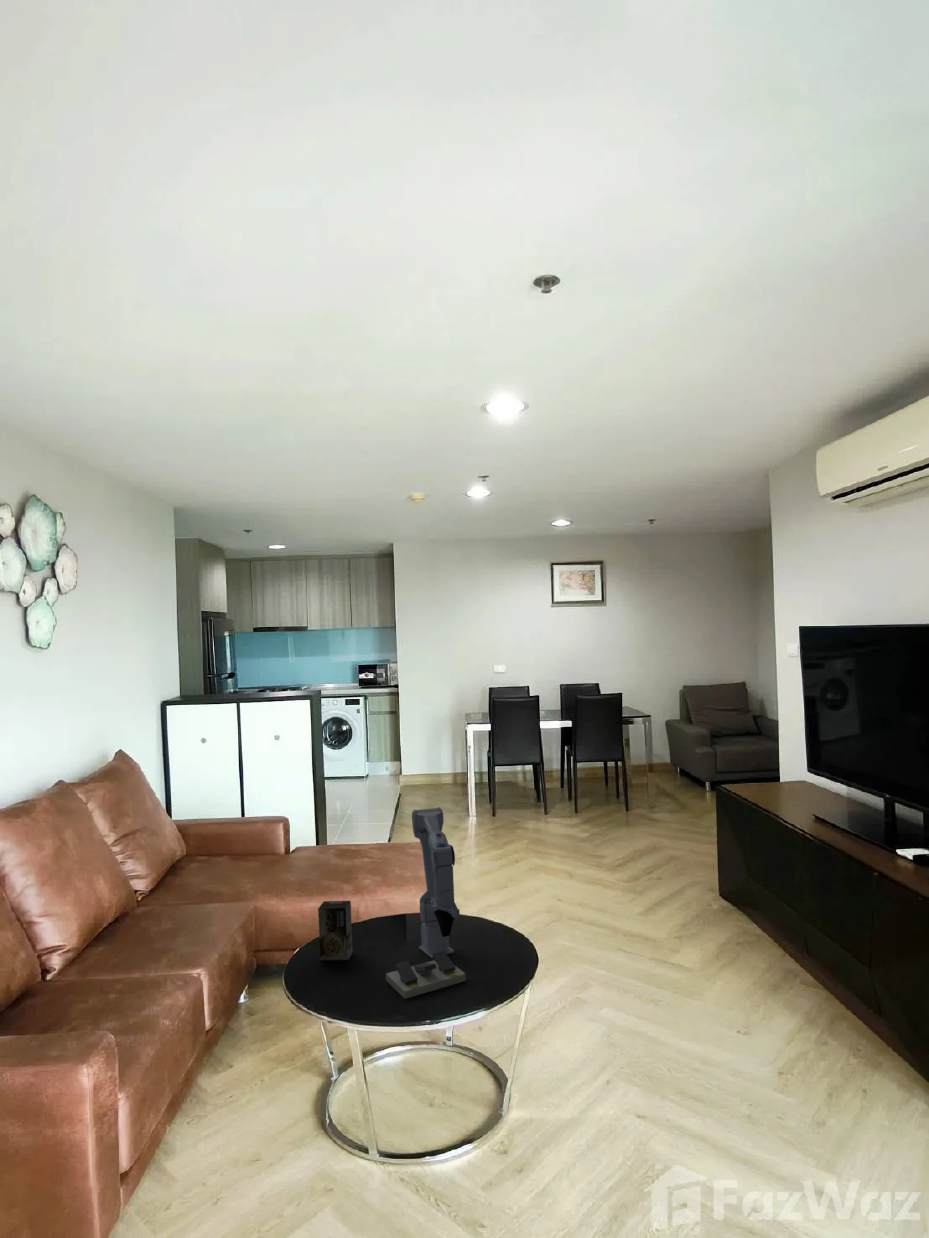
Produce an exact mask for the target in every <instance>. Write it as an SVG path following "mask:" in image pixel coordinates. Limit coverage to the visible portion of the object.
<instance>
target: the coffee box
mask: <svg viewBox="0 0 929 1238" xmlns="http://www.w3.org/2000/svg"><path fill="white" fill-rule="evenodd" d="M351 903H352V902H351V900H327V901H323V902H322V903H321V904H320V906H319V907H318V908H317V911H318V912H317V916H318V935H319V938H318V939H319V961H348V960H349V959H350V957H352V955H353V953H354V952H353V951H354V950H353V930H352V928H353V927H352V904H351Z"/></svg>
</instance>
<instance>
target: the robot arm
mask: <svg viewBox="0 0 929 1238" xmlns="http://www.w3.org/2000/svg"><path fill="white" fill-rule="evenodd" d="M412 810H413V811H411V823H412V824H411V825H412V832H413V835H414V838H416V839H419V842H420V845H421V851H422V859H423V868H424V877H425V885H426V891H424V893H423V894H422V895H421V896H420V898H419V916H420V917H419V918H420V921H421V922H422V923H421V925H420V927H421V928H420V933H421V936H420V937H421V945H420V946H419V947H418V948H419V949H420V950H421V951H422V952H424V953H425V955H427V956H428V957H430V958H431V959H433V954H435V953H439V952H442V951H444V952H445V954H446V955H448V954H453V953H455V950H454V949H453V948H452V947H450V939H449V938H450V937H449V936H451V932H452V929H453V928H452V927H453V924H454V921H455V918H460V917H461V915H460V913H461V912H460V909H459V908H458V906H457V904H456V902H455V888H454V887H455V886H454V880H455V879H454V866H455V862H456V855H455V850H454V846H453V845H451V844H449V842H448V839H447V837H446V834H445V833H444V832H442V831H443V826H444V812H443V809H442V808H441V807H436V808H435V807H434V808H432V807H431V808H424V809H423V808H422V809H412Z"/></svg>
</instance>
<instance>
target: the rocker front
mask: <svg viewBox="0 0 929 1238" xmlns="http://www.w3.org/2000/svg"><path fill="white" fill-rule="evenodd" d="M394 967H395V970H396V971H398V973H399V975H400V976H401V978H402V980H403V981H404V983H405V985H408V984H412V983H415V982H417V980H418V978H417V976H416V975H415V973H414V972H413V970H412V968H411V967H412V966H411V965H410V964H409V962H408V960H404V961H401V962H397V963H395V965H394Z"/></svg>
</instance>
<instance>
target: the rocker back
mask: <svg viewBox="0 0 929 1238" xmlns="http://www.w3.org/2000/svg"><path fill="white" fill-rule="evenodd" d="M432 959H433V961H434V960H435V962H436V963H437V964H438V966H439V967H440V968H441V970H442V971H443V972H444V974H445V973H448V972H452V971H455V966H456V965H455V964H454V963H453V962H452V960H451V959H450V958H449V956H448V954H445V952H444V951H442V952H439V953H435V954H433V958H432ZM454 965H455V966H454Z"/></svg>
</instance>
